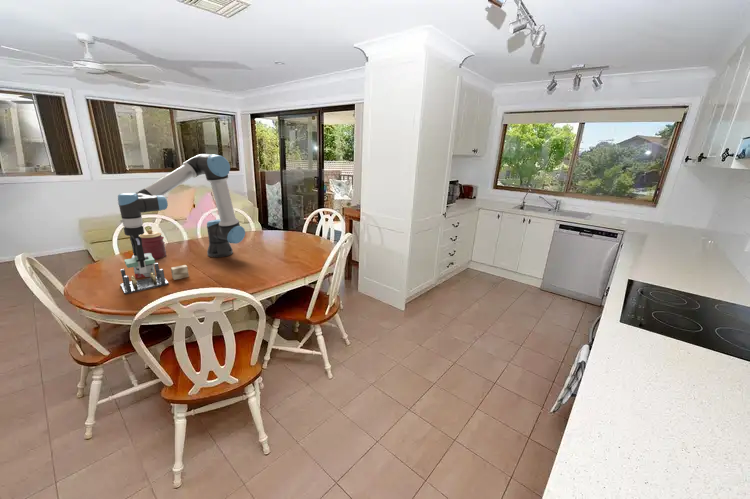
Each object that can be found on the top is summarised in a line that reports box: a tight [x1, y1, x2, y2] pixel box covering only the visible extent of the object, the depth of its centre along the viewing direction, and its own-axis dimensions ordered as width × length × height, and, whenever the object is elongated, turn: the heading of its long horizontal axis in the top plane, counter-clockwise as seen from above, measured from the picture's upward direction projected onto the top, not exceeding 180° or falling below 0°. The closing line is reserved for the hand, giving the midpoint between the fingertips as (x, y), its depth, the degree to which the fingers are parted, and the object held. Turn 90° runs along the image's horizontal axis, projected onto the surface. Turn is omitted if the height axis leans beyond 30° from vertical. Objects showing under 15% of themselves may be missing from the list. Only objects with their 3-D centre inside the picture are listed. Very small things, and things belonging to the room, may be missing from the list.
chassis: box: [119, 262, 170, 295], centre depth 156 cm, size 18×13×8 cm
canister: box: [139, 229, 167, 260], centre depth 193 cm, size 13×13×18 cm
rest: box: [170, 264, 190, 281], centre depth 167 cm, size 7×3×6 cm, turn 135°
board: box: [124, 255, 156, 269], centre depth 153 cm, size 11×8×3 cm
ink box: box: [131, 253, 156, 279], centre depth 166 cm, size 8×5×12 cm, turn 123°
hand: (141, 270), depth 154 cm, fingers closed on board, 8 cm apart
